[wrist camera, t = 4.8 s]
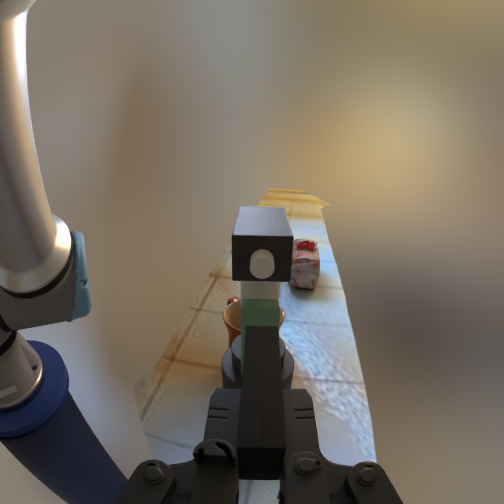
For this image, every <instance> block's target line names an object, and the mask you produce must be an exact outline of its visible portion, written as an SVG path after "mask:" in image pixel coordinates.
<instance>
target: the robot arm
mask: <svg viewBox="0 0 504 504" xmlns="http://www.w3.org/2000/svg"><path fill="white" fill-rule="evenodd" d="M35 1H36V0H0V413H6V412H12V411H15V410H18V409H20V408H22V407H24V406H25V405H27V404H28V403H29V402H30V401H32V400H33V399H34V398H35V397H36V395H37V394H38V393H39V391H40V390H41V388H42V386H43V383H44V380H45V367H44V365H43V363H42V361H41V358H40V356H39V355H38V353H37V352H36V351H35V350H34V349H33V348H32V347H31V346H30V345H29V343H28V342H27V341H26V340H25V339H24V338H23V337H22V335H21V334H20V333H19V332H18V330H20V329H26V328H32V327H37V326H43V325H48V324H53V323H59V322H63V321H67V322H71V321H72V320H74V319H77V318H81V317H85V316H87V315H88V314H89V312H90V311H91V298H90V291H89V283H88V276H87V265H86V256H85V246H84V237H83V234H82V233H80V232H74V231H72V232H69V230H68V227H67V226H66V224H65V223H64V222H63V221H62V220H61V219H60V218H59V217H57V216H56V215H54V214H51V211H50V207H49V204H48V200H47V196H46V193H45V189H44V185H43V181H42V176H41V172H40V167H39V163H38V158H37V153H36V148H35V142H34V136H33V130H32V123H31V116H30V107H29V97H28V86H27V69H26V23H27V12H28V10H29V8H30V7H31V5H32V4H33V3H34V2H35ZM193 456H194V459H193V460H191V461H189V462H185V463H179V464H171V465H168V464H166V463H164V462H163V461H159V460H148V461H145V462H142V463H141V464H140V465H139V466H138V467H137V468H136V469H135V471H134V472H133V474H132V476H131V477H130V479H129V480H128V482H127V483H126V485H125V487H124V488H123V490H122V491H121V493H120V494H119V496H118V497H117V499H116V501H115V502H114V504H238V501H239V479H242V480H279V479H280V490H279V493H278V498H277V499H279V504H403V502H402V501H401V499H400V497H399V496H398V494H397V492H396V490H395V489H394V487H393V485H392V483H391V482H390V480H389V478H388V476H387V475H386V473H385V471H384V470H383V469H382V467H381V466H380V465H378V464H376V463H374V462H367V461H366V462H361V463H358V464H356V465H355V466H353V467H352V466H346V465H340V464H335V463H332V462H330V461H328V460H327V459H326V458H325V457H324V456H323V455H322V454H321V452H320V448H319V442H318V435H317V428H316V422H315V415H314V410H313V402H312V397H311V396H310V395H309V393H308V392H307V390H306V389H283V386H282V371H281V357H280V344H279V331H278V326H246V331H245V344H244V358H243V371H242V384H241V389H225V388H217V389H216V391H215V392H214V393H213V395H212V396H211V398H210V404H209V410H208V417H207V422H206V428H205V434H204V440H203V442H201V443H199V444H198V445H197V446H196V447H195V449H194V452H193Z"/></svg>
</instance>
